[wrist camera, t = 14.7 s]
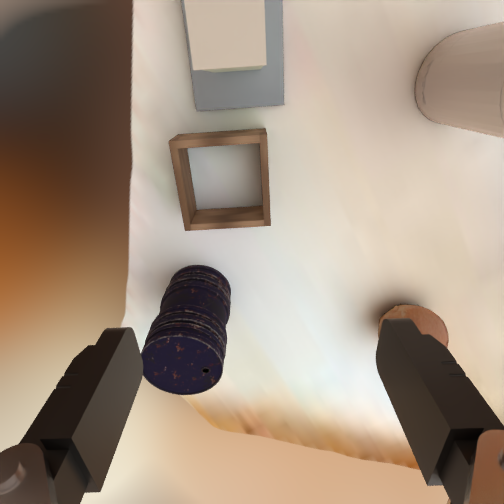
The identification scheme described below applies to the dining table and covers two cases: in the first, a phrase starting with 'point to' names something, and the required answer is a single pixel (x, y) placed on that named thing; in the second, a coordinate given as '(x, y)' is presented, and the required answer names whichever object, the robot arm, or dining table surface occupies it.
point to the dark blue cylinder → (189, 333)
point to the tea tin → (226, 34)
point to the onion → (419, 320)
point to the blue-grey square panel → (245, 73)
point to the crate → (182, 172)
